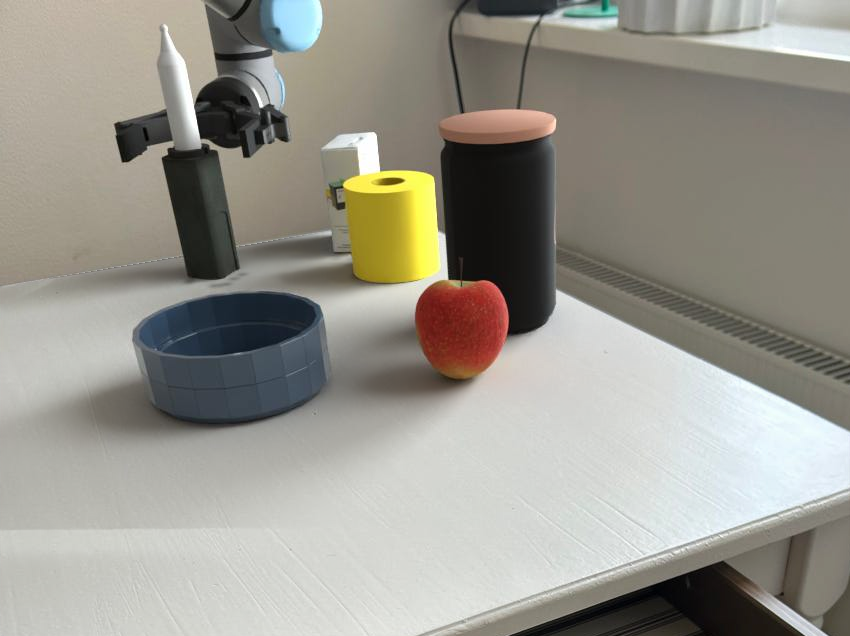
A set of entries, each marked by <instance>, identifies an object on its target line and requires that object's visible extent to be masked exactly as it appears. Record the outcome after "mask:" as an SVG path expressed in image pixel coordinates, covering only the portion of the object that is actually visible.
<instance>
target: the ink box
mask: <svg viewBox="0 0 850 636" xmlns="http://www.w3.org/2000/svg"><path fill="white" fill-rule="evenodd" d="M320 159H321V165H322V172H323V179H324V180H323V181H324V187H325V195H326V202H327V210H328V216H329V224H330V231H331V233H330V234H331V240H332V249H333V252H334V253H351V245H350V237H349V229H348V220H347V212H346V204H345V196H344V188H343V184H344V182H345V181H347V180H348V179H350V178H353V177H356V176H359V175H363V174H368V173H374V172H381V170H380V161H379V149H378V139H377V134H376V133H375V132H372V131H370V132H369V131H368V132H356V133H343V134H338V135H336V136H335V137H334V138H333V139H331V140H330V141H329V142H328V143H327V144H325V145H324V146H322V147H321V148H320Z"/></svg>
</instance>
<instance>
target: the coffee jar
mask: <svg viewBox="0 0 850 636" xmlns="http://www.w3.org/2000/svg"><path fill="white" fill-rule="evenodd" d="M437 125H438V133H439V135H440V137H441V138H442V139H443V141H444V146H443V147H442V149H441V150H440V155H439V158H440V160H439V161H440V174H441V175H440V176H441V190H442V192H441V193H442V205H443V207H442V208H443V221H444V222H443V223H444V236H445V237H444V238H445V252H446V253H445V254H446V266H447V280H459V281H461V275H460V261H459V257H461V258H463V266H462V281H470V282H477V281H482V280H484V281H489V282H491V283H493V284H494V285H495V286H497V288H498V289H499V290H500V292H501V293H502V295H503V297H504V299H505V302H506V305H507V310H508V331H507V335H506V336H508V335H517V334H523V333H526V332H531V331H533V330H536V329H538V328H541V327H543V326H544V325H545V324H546V323H548V321H549V319H550V317H551V316H552V315H553V313H554V310H555V308H556V305H557V148H556V146H555V144H554V142H552V135H553V133H554V132H555V130H556V128H557V127H556V126H557V118H556V116H554V115H553V114H550V113H548V112H544V111H539V110H533V109H532V110H531V109H515V108H514V109H489V110H488V109H487V110H478V111H471V112H465V113H460V114H455V115H452V116H448V117H447V118H443V119H442V120H441V121H440V122H439V123H438V124H437Z"/></svg>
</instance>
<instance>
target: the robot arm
mask: <svg viewBox="0 0 850 636" xmlns="http://www.w3.org/2000/svg"><path fill="white" fill-rule="evenodd" d="M200 2H202V3H203V4H204V8H205V14H206V19H207V25H208V30H209V34H210V39H211V40H210V41H211V46H212V50H213V56H214V62H215V67H216V73H217V77H216V78H214V79H213V80H211V81H209V82H207V84H205V85H204V86H203V87H201V89H200V90H199V92H198V94H197V96H196V98H195V102H194V104H193V105H194V110H195V115H196V120H197V125H198V130H199V135H200V140H201V141H202V140H208V141H209V142H211V143H212V144H214V145H215V146H217V147H220V148H223V149H228V150H229V149H230V150H232V149H233V150H234V149H237V148H240V147H241V152H242V153H241V154H242V158H243V159H251V158H252V157H253V156H254V155H255V154H256V153H257V152H258V151H259V150H260V149H261V148H262V147H263V146H265V145H271V144H273V143H275V142H276V141H275V139H277V140H278V141H280V142H282V143H283V142H284V143H289V142H291V141H292V136H291V135H292V134H291V127H290V122H289V116H288V115H286V114H284V113H283V112H281V110H282V108H283V106H284V103H285V99H286V88H285V84H284V80H283V78H282V76H281V74H280V73H279V72H278V70H277V69H276V66H275V59H274V53H273V51H276V52H278V53H281V54H290V53H301V52H304V51H307V50H308V49H309V48H312V46H313V45H314V43H316V41H317V39H318V38H319V36H320V32H321V30H322V26H323V10H322V9H323V8H322V4H321V2H320V0H200ZM113 126H114V131H115V135H114V136H115V140H116V144H117V148H118V152H119V157H120V160H121V163H130V162H132V161H133V160H135V159H136V158H137V157H139V156H142V155H143V153H145V152H146V151H147V150H148V147H151V146H155V145H160V144H164V143H165V144H166V143H169V142H173V138H172V133H171V129H170V124H169V120H168V115H167V110H166V108H164V109H161V110H159V111H157V112H153V113H149V114H145V115H141V116H137V117H133V118H130V119H125V120H122V121H116V122H114V123H113Z"/></svg>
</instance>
